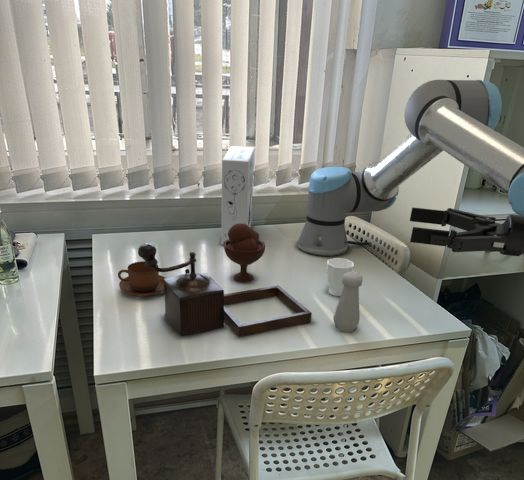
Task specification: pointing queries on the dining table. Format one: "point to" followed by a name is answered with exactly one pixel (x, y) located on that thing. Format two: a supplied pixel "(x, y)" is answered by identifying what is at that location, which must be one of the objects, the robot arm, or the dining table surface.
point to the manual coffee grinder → (188, 296)
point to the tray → (268, 324)
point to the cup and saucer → (141, 280)
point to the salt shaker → (348, 303)
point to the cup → (337, 274)
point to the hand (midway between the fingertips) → (411, 223)
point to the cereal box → (237, 188)
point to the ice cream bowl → (243, 249)
